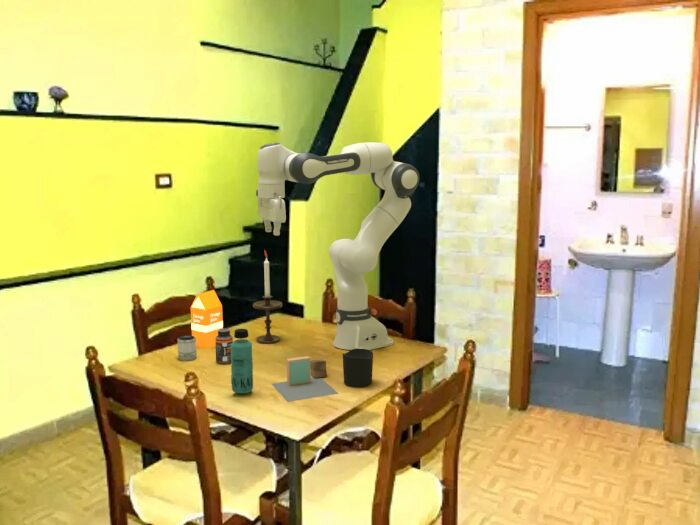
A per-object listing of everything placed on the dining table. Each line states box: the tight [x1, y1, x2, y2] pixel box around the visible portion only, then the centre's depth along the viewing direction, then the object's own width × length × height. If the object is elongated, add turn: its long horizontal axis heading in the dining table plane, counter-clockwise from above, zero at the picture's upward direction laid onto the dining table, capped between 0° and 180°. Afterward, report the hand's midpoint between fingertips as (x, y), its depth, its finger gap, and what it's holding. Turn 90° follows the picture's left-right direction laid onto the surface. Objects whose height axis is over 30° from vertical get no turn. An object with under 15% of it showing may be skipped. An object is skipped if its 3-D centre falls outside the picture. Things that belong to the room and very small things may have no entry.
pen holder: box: [342, 349, 374, 389], centre depth 206 cm, size 9×9×10 cm
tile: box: [286, 355, 311, 386], centre depth 206 cm, size 7×2×8 cm, turn 114°
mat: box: [271, 377, 339, 403], centre depth 202 cm, size 16×16×1 cm
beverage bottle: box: [230, 328, 254, 394], centre depth 197 cm, size 6×7×20 cm
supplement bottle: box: [214, 328, 234, 365], centre depth 228 cm, size 6×6×11 cm
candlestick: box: [252, 249, 283, 345], centre depth 250 cm, size 11×11×35 cm
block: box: [310, 358, 328, 378], centre depth 213 cm, size 4×4×5 cm
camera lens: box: [177, 334, 197, 362], centre depth 232 cm, size 6×6×8 cm
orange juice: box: [190, 289, 224, 349], centre depth 247 cm, size 8×9×20 cm
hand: (272, 233), depth 225 cm, fingers open, 8 cm apart
